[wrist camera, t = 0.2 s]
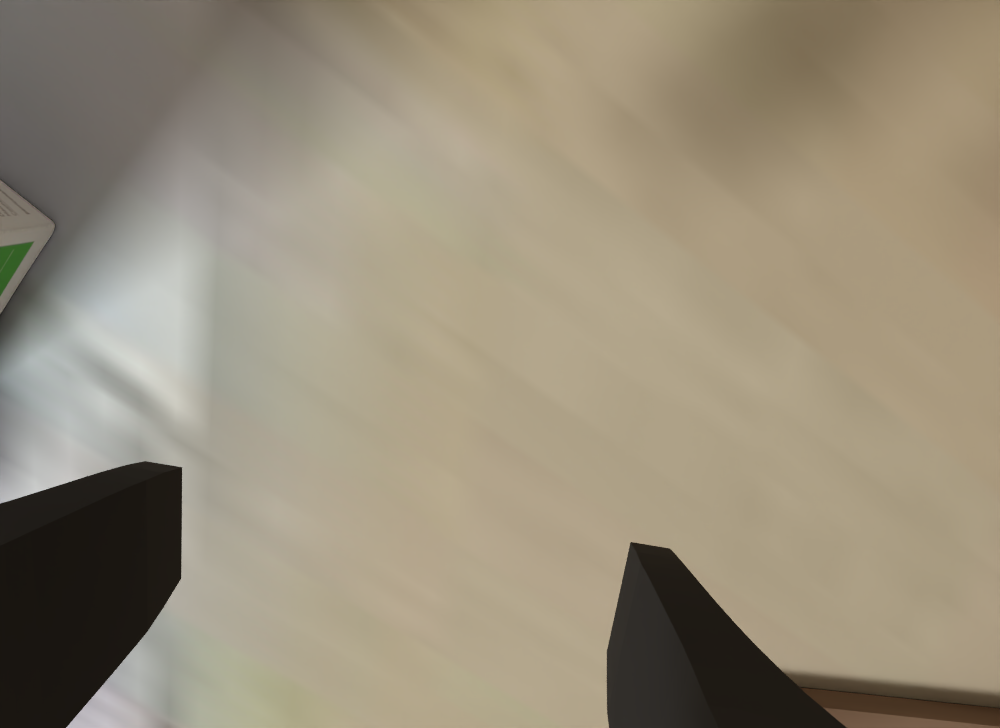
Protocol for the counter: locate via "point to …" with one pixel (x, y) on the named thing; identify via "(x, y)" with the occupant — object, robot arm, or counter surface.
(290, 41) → the counter surface
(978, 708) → the brown board
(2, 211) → the skincare box
